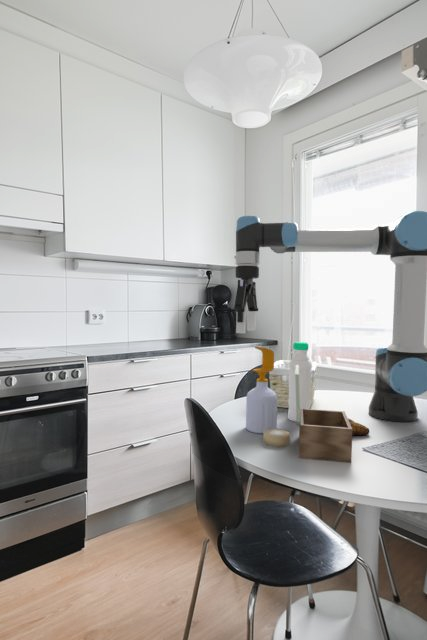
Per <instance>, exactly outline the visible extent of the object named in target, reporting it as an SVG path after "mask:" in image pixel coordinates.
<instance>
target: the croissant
mask: <svg viewBox="0 0 427 640" xmlns="http://www.w3.org/2000/svg"><path fill="white" fill-rule="evenodd" d="M348 420H349V423H350V425H351V427H352V436H367V435H370V429H369V428H368V427H367V426H366V425H364V424H361V423H359V422H356V421H354V420H353V419H350V418H348Z"/></svg>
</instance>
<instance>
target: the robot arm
mask: <svg viewBox="0 0 427 640" xmlns="http://www.w3.org/2000/svg"><path fill="white" fill-rule="evenodd" d="M260 220H261V219H260V218H259V216H255V215H243V216H240V217H238V219H237V220H236V228H235V229H236V230H235V255H234V257H233V258H234V259H235V265H237V266H236V267H235V278H236V279H237V289H236V293H235V295H236V296H235V301H234V307H233V312H234V313H236V316H235V317H236V321H235V334H246V331H252V332H253V331H256V324H257V323H256V322H257V321H256V318H257V317H256V315H257V314H256V312H259V308H258V300H257V291H256V289H257V288H256V285H257V284H256V281H253V280H254V279H258V278H259V277H260V267H259V265H260V248H269V249H270V250H271V251H273V252H274V253H275V254H285V253H309V252H310V253H328V252H329V253H331V252H332V253H335V252H336V253H337V252H338V253H339V252H340V253H349V252H350V253H352V252H353V253H358V252H359V253H362V252H363V253H369V252H370V253H371V254H372V255H373V256H374V255H375V256H378V255H379V256H390V257H389V258H390V261H391V262H392V263H393V264H394V265H395V269H394V270H395V271H394V289H393V290H394V293H393V295H394V297H393V318H392V320H393V321H392V341H391V342H392V343H391V344H390V345H388V346H387V347H378V348H377V349H376V353H375V372H374V373H375V374H374V375H375V376H374V392H373V396H372V397H371V400H370V403H369V405H368V414H369V415H370V416H371V417H374V418H376V419H379V420H384V421H390V422H399V423H400V422H401V423H402V422H405V423H406V422H408V423H409V422H414V421H417V420H418V416H419V415H418V414H419V413H418V412H419V411H418V408H417V406H416V402H415V399H414V397H417V396H421V395H423V394H425V393H426V392H427V347H426V346H425V329H426V328H425V327H426V325H425V324H426V323H425V322H426V303H427V302H426V301H427V211H425V210H414V211H410V212H408V213H405V214H403V215H401V216H400V217H399V218H398V219H397V220H396V221H394V222H392V223H388V224H382V225H380V224H379V225H378V224H377V225H374V226H373V227H372V228H342V229H341V228H340V229H339V228H337V229H330V228H329V229H328V228H326V229H324V228H323V229H299V226H298V224H297V223H296V222H289V221H288V222H287V221H286V222H268V223H266V222H265V223H263V222H261V221H260ZM246 306H247V311H246ZM246 312H247V314H246ZM246 315H247V316H246ZM246 318H247V319H246ZM246 322H247V323H246ZM246 325H247V326H246Z"/></svg>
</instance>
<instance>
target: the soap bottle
mask: <svg viewBox="0 0 427 640" xmlns="http://www.w3.org/2000/svg"><path fill="white" fill-rule="evenodd" d="M254 348H255V349H256V350H259V351H260V352H261V353H262V356H261V357H262V362H261V363H262V364H261V367H259V368H254V369H252V371H253V372H256V373H257V375H258V376H259V378H257V379H256V386H255V387H253V388H252V389H250V390H249V391H248V392H247V394H246V408H245V410H246V413H245V414H246V415H245V418H246V419H245V429H246V430H248V432H251V433H253V434H254V433H255V434H261V435H264V431H266V430H270V429H278V427H277V425H278V407H277V395H276V393H275V392H274V391H273V390H271V389H270V387H268V386H269V381H268V379H269V378H266V375H268V373H269V372H270V371H273V369H274V363H275V353H274V351H273V349H270V348H267V347H262V346H254Z"/></svg>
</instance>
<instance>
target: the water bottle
mask: <svg viewBox="0 0 427 640" xmlns="http://www.w3.org/2000/svg"><path fill="white" fill-rule="evenodd" d="M292 348H293V351H294V353H293V356H292V357H291V359H290V360H289V361H290V363H289V368H290V372H289V400H288V405H289V408H287V410H288V411H287V418H288V419H289V420H290V421H291V422H295V423H296V417H297V413H296V381H295V368H296V365H299V395H300V408H301V409H311V406H312V404H311V400H310V394H311V368H312V365H311V362H312V361H310V358H309V356H308V354H307V353H308V350H309V344H308V342H304V341H296V342H293V344H292ZM310 405H311V406H310Z"/></svg>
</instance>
